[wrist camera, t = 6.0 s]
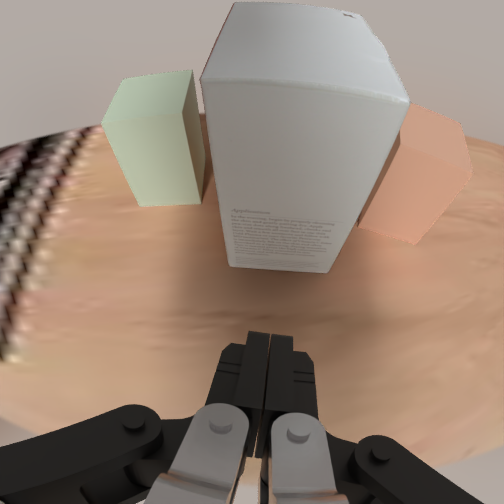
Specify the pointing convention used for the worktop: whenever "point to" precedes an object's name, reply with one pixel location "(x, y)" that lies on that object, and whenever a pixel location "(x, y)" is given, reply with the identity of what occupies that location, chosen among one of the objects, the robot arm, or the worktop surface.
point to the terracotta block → (418, 176)
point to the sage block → (158, 138)
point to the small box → (297, 130)
